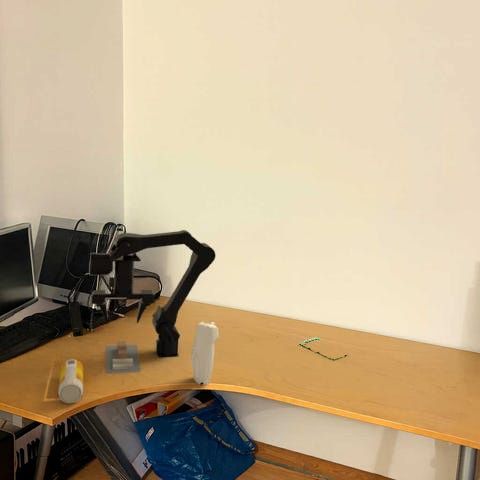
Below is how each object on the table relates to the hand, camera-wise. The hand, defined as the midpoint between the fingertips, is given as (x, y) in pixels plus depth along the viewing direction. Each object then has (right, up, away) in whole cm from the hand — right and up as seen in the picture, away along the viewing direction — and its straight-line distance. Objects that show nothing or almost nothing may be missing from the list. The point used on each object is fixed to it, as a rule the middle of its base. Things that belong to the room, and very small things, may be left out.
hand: (122, 323), depth 156 cm
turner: (0, -11, +1) cm, 11 cm away
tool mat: (0, -12, +1) cm, 12 cm away
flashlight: (+26, -16, -10) cm, 32 cm away
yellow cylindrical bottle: (-11, -11, -13) cm, 20 cm away
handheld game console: (+66, -13, +21) cm, 71 cm away
